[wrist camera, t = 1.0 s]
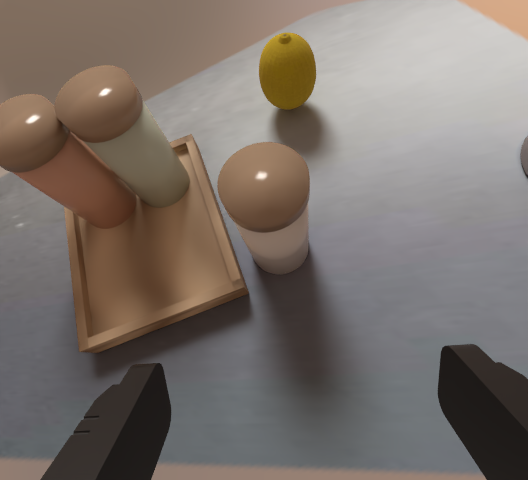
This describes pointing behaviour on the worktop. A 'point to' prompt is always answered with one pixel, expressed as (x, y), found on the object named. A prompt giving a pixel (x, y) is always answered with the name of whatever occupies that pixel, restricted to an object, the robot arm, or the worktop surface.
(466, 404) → the robot arm
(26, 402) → the worktop surface
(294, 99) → the lemon
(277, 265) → the white jar
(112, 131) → the sage jar
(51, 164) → the terracotta jar
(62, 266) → the worktop surface
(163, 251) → the tray
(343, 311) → the worktop surface
